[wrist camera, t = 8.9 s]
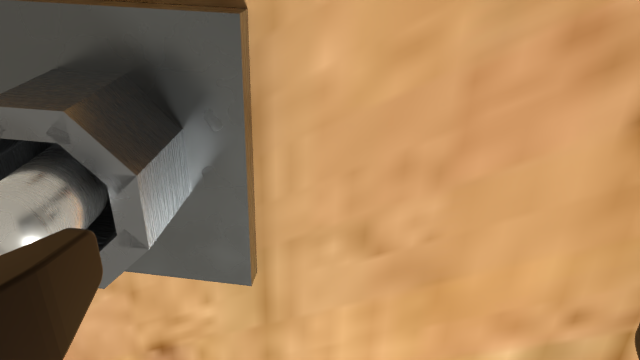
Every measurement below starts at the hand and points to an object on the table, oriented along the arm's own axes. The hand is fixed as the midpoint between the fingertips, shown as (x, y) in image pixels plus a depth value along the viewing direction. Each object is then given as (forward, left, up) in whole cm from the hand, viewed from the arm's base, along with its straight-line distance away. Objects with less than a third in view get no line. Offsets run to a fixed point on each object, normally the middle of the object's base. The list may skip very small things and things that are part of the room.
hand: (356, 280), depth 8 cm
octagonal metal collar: (+11, +4, -11) cm, 16 cm away
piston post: (+11, +4, -12) cm, 17 cm away
